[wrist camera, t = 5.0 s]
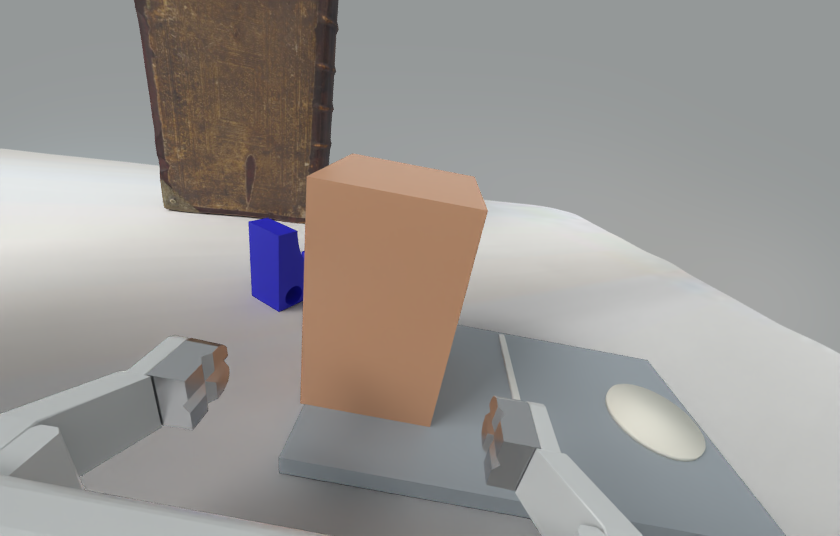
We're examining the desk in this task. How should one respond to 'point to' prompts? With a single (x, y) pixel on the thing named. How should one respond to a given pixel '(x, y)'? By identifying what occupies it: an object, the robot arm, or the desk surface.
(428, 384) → the block
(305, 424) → the board
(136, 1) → the book
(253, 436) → the desk surface
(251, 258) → the cable clip
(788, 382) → the desk surface
